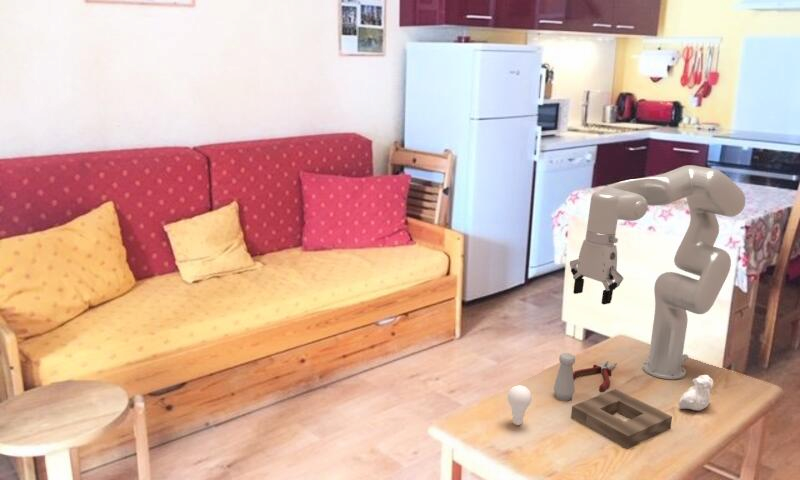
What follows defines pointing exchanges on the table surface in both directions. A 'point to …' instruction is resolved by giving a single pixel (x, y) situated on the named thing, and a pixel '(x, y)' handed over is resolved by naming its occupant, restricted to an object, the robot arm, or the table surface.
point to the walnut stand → (626, 433)
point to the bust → (697, 394)
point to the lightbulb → (519, 402)
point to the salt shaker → (565, 377)
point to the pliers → (596, 370)
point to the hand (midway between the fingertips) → (591, 298)
